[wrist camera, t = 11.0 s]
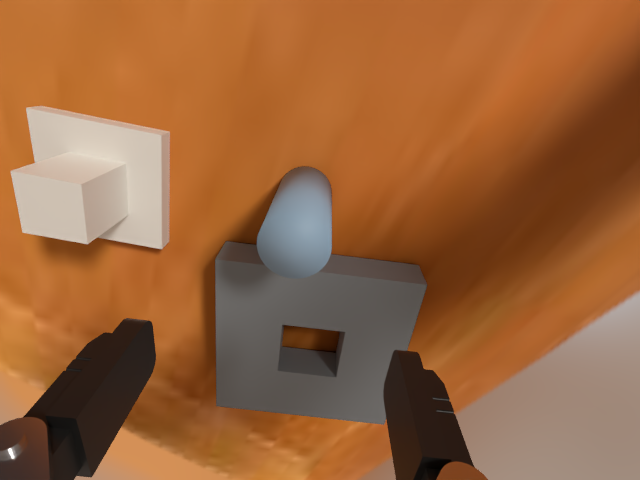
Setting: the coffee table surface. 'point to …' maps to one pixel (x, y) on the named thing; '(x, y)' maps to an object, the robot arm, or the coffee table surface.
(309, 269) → the peg
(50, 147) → the lid
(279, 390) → the socket plate
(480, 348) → the coffee table surface
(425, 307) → the coffee table surface
